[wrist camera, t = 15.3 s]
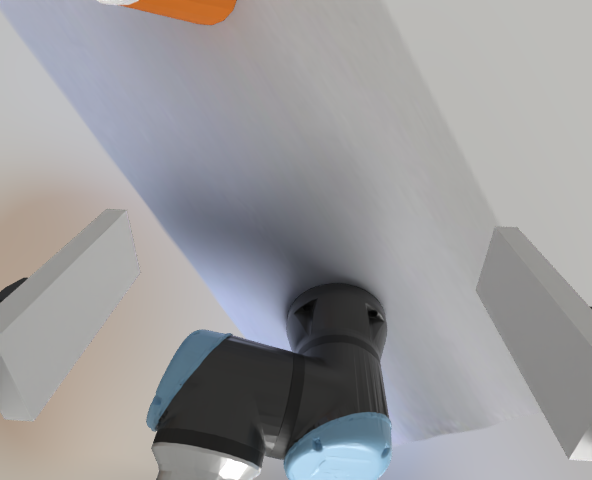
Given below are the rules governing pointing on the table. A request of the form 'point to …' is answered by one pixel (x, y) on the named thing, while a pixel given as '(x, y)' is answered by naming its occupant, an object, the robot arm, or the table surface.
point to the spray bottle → (182, 9)
